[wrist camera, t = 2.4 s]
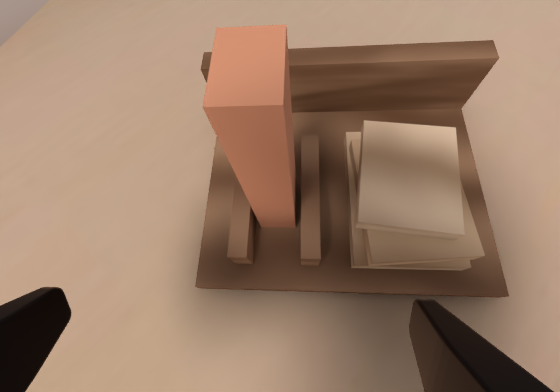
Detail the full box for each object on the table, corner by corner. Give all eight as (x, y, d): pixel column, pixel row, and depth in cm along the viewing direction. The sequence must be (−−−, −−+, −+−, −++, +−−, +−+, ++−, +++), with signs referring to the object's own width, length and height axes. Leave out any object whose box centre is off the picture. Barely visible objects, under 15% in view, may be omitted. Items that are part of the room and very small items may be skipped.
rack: (499, 297, 19) (579, 288, 13) (200, 288, 21) (161, 277, 15) (451, 101, 25) (492, 40, 19) (224, 107, 27) (203, 52, 21)
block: (295, 227, 21) (283, 104, 9) (261, 227, 21) (202, 106, 9) (296, 183, 22) (286, 24, 10) (263, 183, 22) (216, 28, 10)
